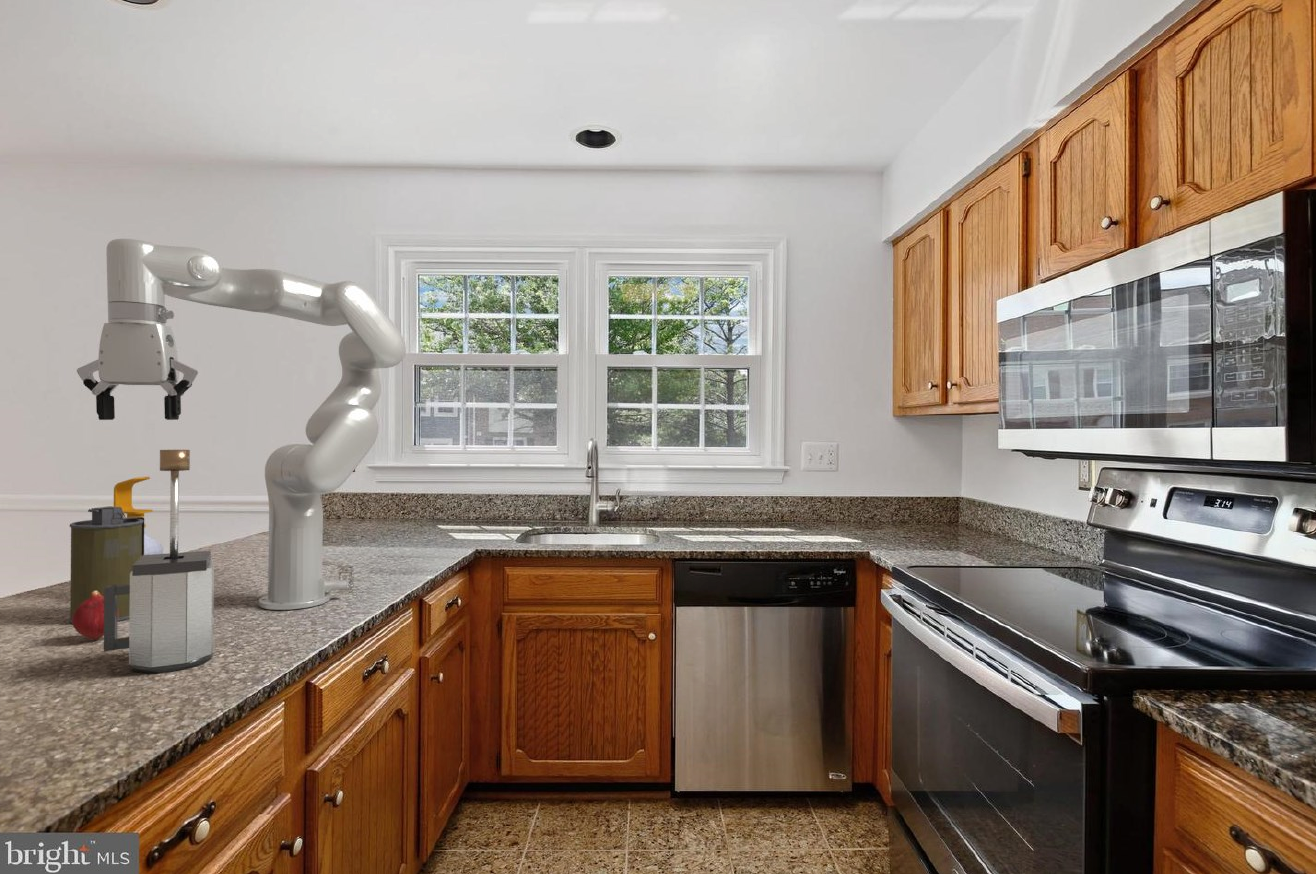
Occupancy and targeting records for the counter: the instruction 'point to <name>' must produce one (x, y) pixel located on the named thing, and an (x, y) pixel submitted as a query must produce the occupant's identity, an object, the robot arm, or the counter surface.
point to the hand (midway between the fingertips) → (139, 419)
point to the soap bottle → (135, 511)
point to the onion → (90, 617)
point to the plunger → (174, 489)
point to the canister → (104, 555)
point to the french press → (165, 612)
